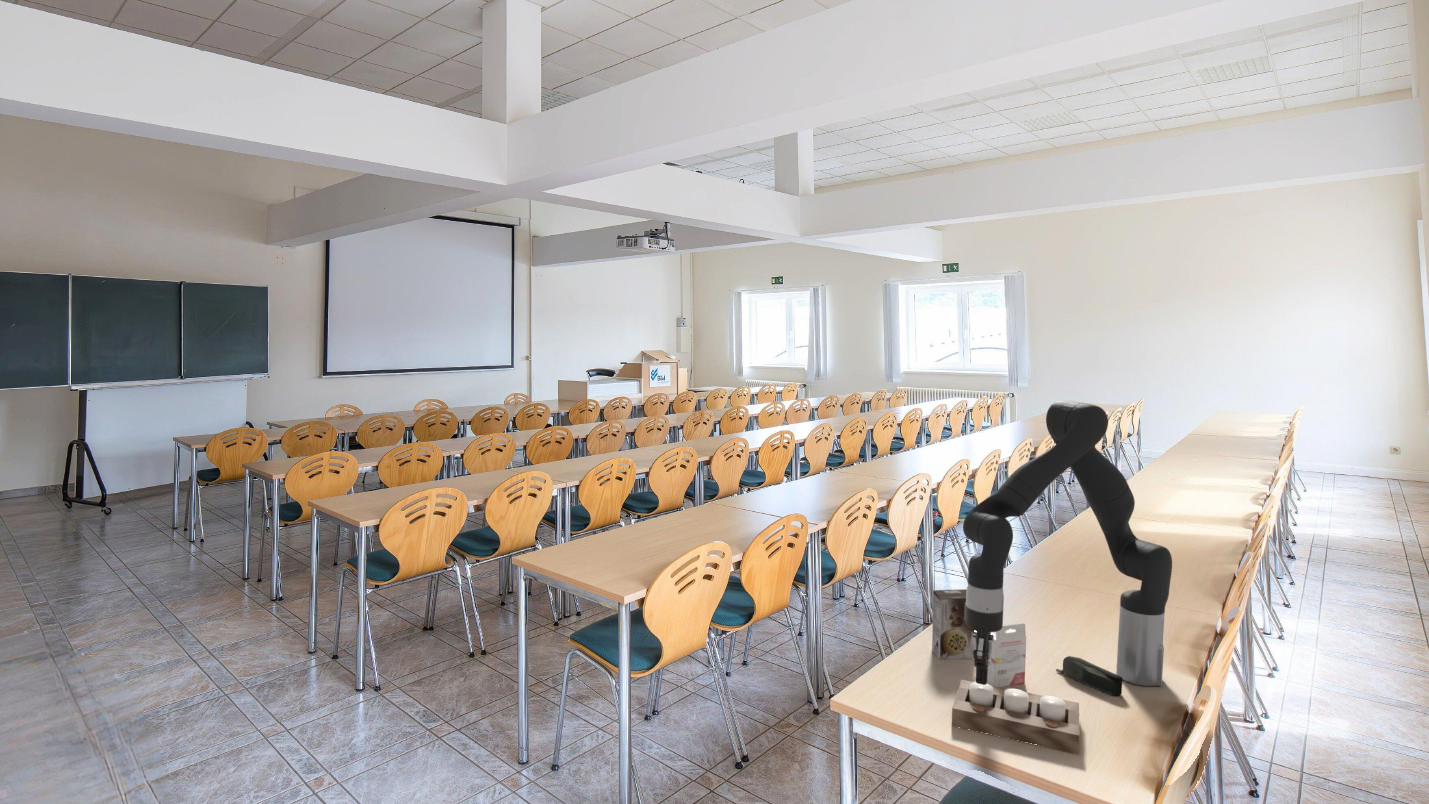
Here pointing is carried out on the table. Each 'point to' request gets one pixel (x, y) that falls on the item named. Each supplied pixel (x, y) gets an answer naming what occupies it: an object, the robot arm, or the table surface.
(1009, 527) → the robot arm
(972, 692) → the button outer
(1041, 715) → the button inner
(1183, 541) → the table surface
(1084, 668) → the dark green stapler
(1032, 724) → the button board
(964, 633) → the coffee box
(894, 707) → the table surface
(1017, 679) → the ink cartridge box
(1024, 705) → the button middle
